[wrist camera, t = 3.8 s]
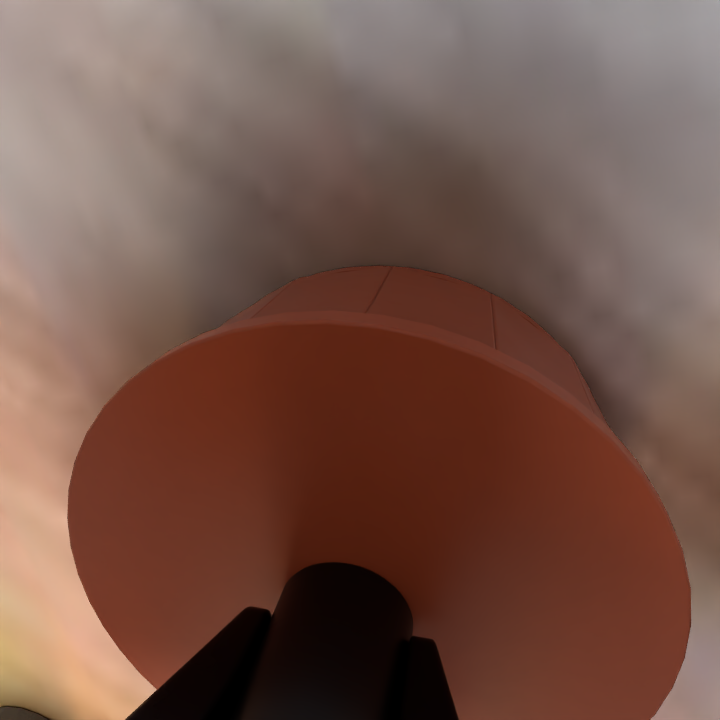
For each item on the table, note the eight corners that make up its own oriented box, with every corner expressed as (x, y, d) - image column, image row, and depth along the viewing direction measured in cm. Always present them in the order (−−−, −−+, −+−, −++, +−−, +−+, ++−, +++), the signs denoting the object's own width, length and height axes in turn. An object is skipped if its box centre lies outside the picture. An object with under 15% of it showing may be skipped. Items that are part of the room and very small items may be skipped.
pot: (608, 233, 10) (678, 292, 7) (605, 626, 14) (649, 794, 10) (140, 292, 13) (13, 357, 9) (247, 610, 17) (186, 741, 13)
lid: (689, 254, 7) (1095, 502, 2) (655, 771, 11) (781, 1225, 7) (18, 330, 10) (-387, 515, 5) (191, 723, 14) (50, 1020, 9)
